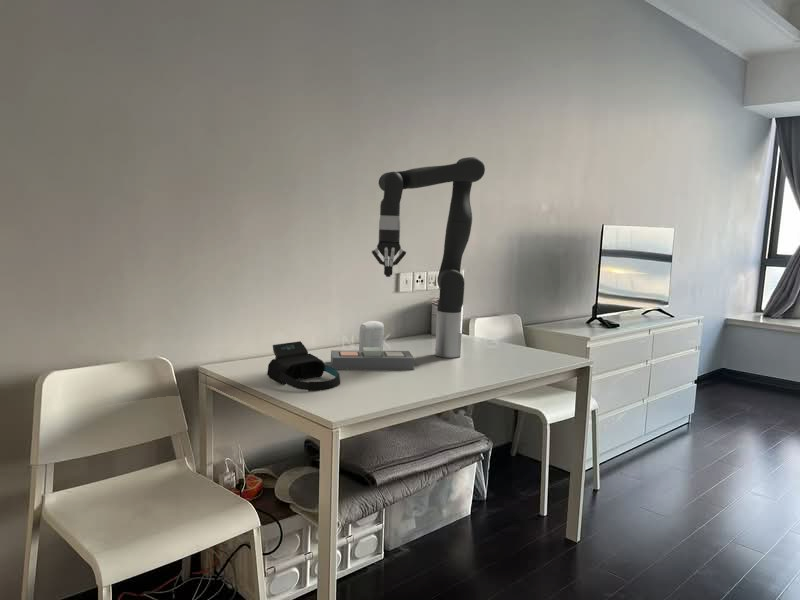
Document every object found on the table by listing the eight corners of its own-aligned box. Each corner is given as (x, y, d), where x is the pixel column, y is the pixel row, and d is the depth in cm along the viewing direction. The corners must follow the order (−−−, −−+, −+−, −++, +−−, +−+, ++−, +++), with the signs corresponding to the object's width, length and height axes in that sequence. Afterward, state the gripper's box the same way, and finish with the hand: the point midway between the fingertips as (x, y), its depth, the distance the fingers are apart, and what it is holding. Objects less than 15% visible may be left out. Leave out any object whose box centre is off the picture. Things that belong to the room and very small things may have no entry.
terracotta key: (356, 359, 222) (357, 351, 222) (358, 363, 216) (358, 355, 216) (339, 359, 221) (340, 351, 221) (340, 363, 215) (341, 355, 215)
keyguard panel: (408, 361, 228) (408, 350, 228) (413, 369, 217) (414, 358, 216) (330, 361, 224) (331, 350, 223) (332, 369, 212) (332, 357, 212)
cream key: (401, 359, 225) (401, 352, 224) (404, 363, 219) (404, 355, 218) (384, 359, 224) (385, 351, 223) (387, 363, 218) (387, 355, 218)
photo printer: (377, 350, 246) (378, 319, 245) (384, 352, 243) (385, 320, 242) (357, 353, 239) (358, 321, 238) (364, 355, 236) (365, 323, 235)
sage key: (379, 355, 223) (379, 347, 223) (381, 358, 217) (381, 351, 217) (362, 355, 222) (362, 347, 222) (364, 358, 216) (364, 350, 216)
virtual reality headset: (304, 368, 209) (309, 339, 207) (350, 392, 195) (355, 361, 193) (258, 376, 195) (262, 346, 193) (304, 402, 181) (308, 370, 179)
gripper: (405, 228, 230) (404, 276, 233) (369, 227, 228) (368, 275, 230) (409, 229, 223) (407, 277, 225) (372, 228, 221) (371, 277, 223)
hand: (388, 276), depth 228 cm, fingers closed
